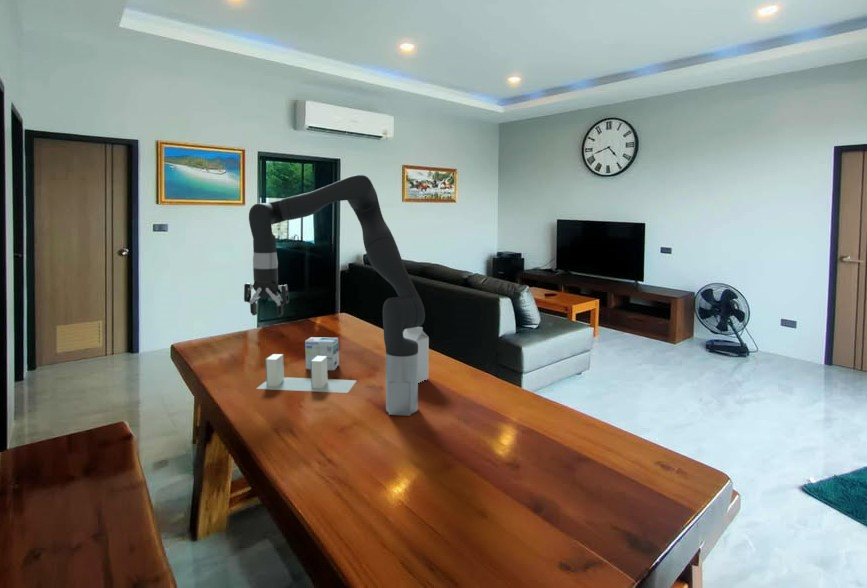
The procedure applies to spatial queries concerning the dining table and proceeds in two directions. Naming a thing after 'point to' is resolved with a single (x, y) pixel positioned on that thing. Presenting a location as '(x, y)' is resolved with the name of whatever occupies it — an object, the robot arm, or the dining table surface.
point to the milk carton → (420, 350)
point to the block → (319, 372)
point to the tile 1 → (274, 370)
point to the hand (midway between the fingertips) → (267, 315)
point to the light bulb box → (322, 351)
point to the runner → (305, 385)
